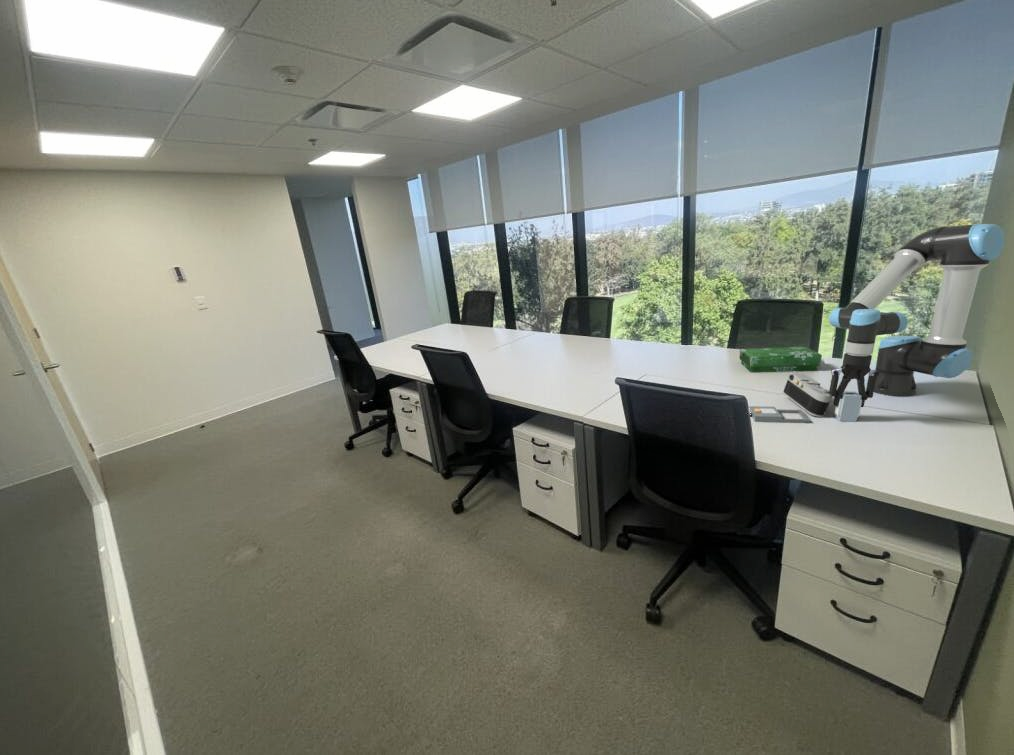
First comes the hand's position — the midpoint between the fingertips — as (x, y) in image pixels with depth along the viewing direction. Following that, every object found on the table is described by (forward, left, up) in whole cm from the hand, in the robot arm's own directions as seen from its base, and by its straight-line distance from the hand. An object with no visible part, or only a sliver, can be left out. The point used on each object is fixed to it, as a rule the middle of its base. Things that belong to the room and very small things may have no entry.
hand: (846, 414), depth 150 cm
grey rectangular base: (+22, -1, -2) cm, 22 cm away
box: (+6, -63, -3) cm, 63 cm away
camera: (+9, -12, -1) cm, 15 cm away
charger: (0, -1, -2) cm, 2 cm away
